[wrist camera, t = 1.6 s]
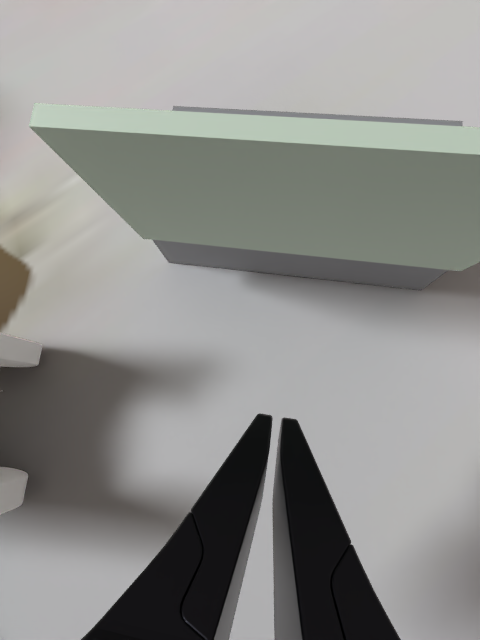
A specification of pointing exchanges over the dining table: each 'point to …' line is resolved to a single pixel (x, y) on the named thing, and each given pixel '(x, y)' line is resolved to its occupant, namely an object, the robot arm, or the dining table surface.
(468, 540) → the dining table surface
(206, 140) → the cover
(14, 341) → the cable organizer
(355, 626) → the robot arm
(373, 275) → the grey open box
